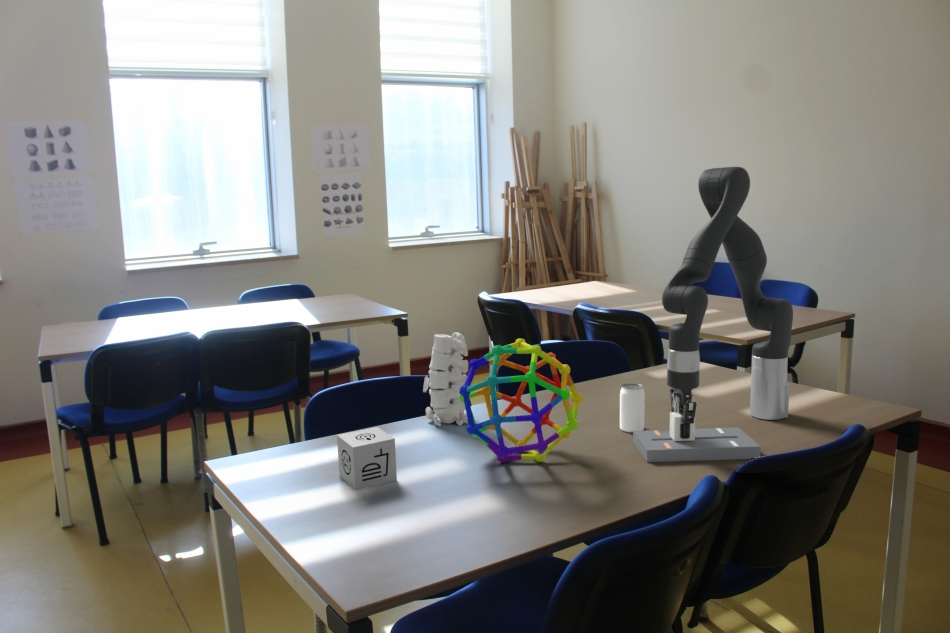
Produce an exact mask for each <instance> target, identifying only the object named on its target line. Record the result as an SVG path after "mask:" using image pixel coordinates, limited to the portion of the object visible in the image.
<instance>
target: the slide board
mask: <svg viewBox="0 0 950 633" xmlns="http://www.w3.org/2000/svg"><path fill="white" fill-rule="evenodd" d="M632 443H633V444H634V445H635V447H636V448H637V450H638V451H639V454H641V456H642V458H643V459H644V460H645V462H646V463H660V462H661V463H663V462H664V463H665V462H666V463H667V462H693V461H695V462H697V461H698V462H699V461H700V462H701V461H720V460H721V461H722V460H723V461H726V460H728V461H729V460H731V461H732V460H752V459H751V458H754V457H758V456H760V457H761V453H762V452H761V450H762V449H761V447H762V446H761V445H760V444H758V443H757V442H756V441H755V440H754V439H753V438H751V437H750V436H749V435H748V434H747V433H746V432H744V430H742V429H741V428H740V427H713V428H695V440H693V441H674V440H673V439H672V438H671V437H670V429H651V430H649V429H648V430H647V429H646V430H645V429H644V430H643V431H633V433H632Z"/></svg>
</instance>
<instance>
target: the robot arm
mask: <svg viewBox="0 0 950 633" xmlns="http://www.w3.org/2000/svg"><path fill="white" fill-rule="evenodd" d="M697 184H698V186H697V187H698V192H699V195H700V198H701V201H702V203H703V205H704V207H705V209H706V211H707V213H708V216H709V218H710V219H709V220H708V221H707V222H706V224H704V225H703V227H701V229H700V230H698V232H696V234H695V235H694V236H693V238H692V239H691V241H690V242H689V244H688V247H687V249H686V252H685V254H684V256H683V259H682V263H681V265H680V266H679V268H678V269H677V271H676V272H675V273H674V275H673V276H672V278H671V279H670V280H669V281H668V283H667V284H666V286H665V287H664V290H663V293H662V296H661V304H662V307H663V309H664V310H665V311H666V312H668V313H670V314H674V315H675V314H676V315H684V316H686V318H685V321H684V322H679V323H674V324H672V325H671V326H670V327H669V331H668V352H667V360H666V361H667V369H666V370H667V371H666V373H667V374H666V384H667V386H668V387H669V388H670V389H669V393H670V406H671V408H670V409H671V411H670V412H678V414H679V415H680V437H681V438H682V439H688V438H690V424H693V423H694V418H695V419H696V411H697V402H696V401H694V395H693V390H695V389H698V387H699V386H700V370H701V369H700V367H701V366H700V364H701V363H700V360H701V356H700V331H701V328H702V325H703V322H704V317H705V314H706V312H707V309H708V304H709V297H708V296H709V295H708V293H707V291H706V290H705V289H704V287H701V286H700V285H694V284H696V283H699V282H700V283H701V282H705V281H706V280H708V279H709V277H710V276H711V272H712V270H713V268H714V265H715V262H716V258H717V255H718V254H719V251H720V249H721V246H723V249H724V252H725V255H726V258H727V260H728V263H729V266H730V268H731V270H732V272H733V275H734V278H735V281H736V284H737V287H738V291H739V293H740V297H741V301H742V306H743V309H744V313H745V317H746V320H747V322H748V324H749V326H750V327H752V328H753V329H755V330H759V331H764V332H770V335H769V338H768V340H764V341H760V342H756V343H754V344H753V345H752V349H751V372H750V373H751V374H750V376H751V377H750V397H749V398H750V400H749V414H750V416H752V417H754V418H757V419H762V420H770V421H775V420H782V419H784V418H785V419H786V418H787V419H788V418H789V406H790V387H791V386H790V384H789V382H788V363H789V362H788V359H789V349H790V347H791V343H792V342H791V341H792V330H793V322H794V320H793V319H794V309H793V305H792V303H791V302H790V300H788V299H784V298H776V297H766V296H765V295H764V294H763V292H762V290H761V285H760V282H761V279H762V277H763V274H764V272H765V271H766V267H767V263H768V256H767V254H766V251H765V247H764V245H763V242H762V239H761V237H760V235H759V234H758V233H757V232H756V231H755V230H754V229H753V228H752V227H751V226H750V225H749V224H748V223H746V222H745V221H744V220H743V219H742V218H740V217H739V216H738V214H739V213H740V211H741V209H742V208H743V206H744V204H745V202H746V200H747V198H748V195H749V192H750V188H751V178H750V175H749V172H748V171H747V170H746V169H745V168H743V167H741V166H727V167H726V166H725V167H715V168H714V167H713V168H709V169H705V170H703V171H702V172H701V173H700V175H699V178H698V182H697ZM687 416H688V419H686V417H687Z"/></svg>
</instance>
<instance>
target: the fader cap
mask: <svg viewBox="0 0 950 633" xmlns="http://www.w3.org/2000/svg"><path fill="white" fill-rule="evenodd" d="M686 419H688V416H687V417H686ZM695 429H696V417H695V418H694V423H693V424H690V438H688V439H682V438H681V437H680V415H679V414H678V412H672V411H670V412H669V430H670V437H671V438H672V439H673V440H674V441H693V440H695Z"/></svg>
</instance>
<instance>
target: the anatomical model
mask: <svg viewBox="0 0 950 633" xmlns="http://www.w3.org/2000/svg"><path fill="white" fill-rule="evenodd" d="M431 349H432V351H431V358H430V364H429V366H428V368H429V370H428V374H429V375H425V376H424V378H423V379H424V382H423V386H422V387H423V388H422V392H423V393H427V391H428V393H429V396H430V406H427V407H426V408H425V415H426V418H427V419H428V420H430V421H432V422H433V423H434V426H438V427H441V426H442V424H452V423H454V422H456V424H457V425H458V426H462V425H463V424H468V420H467V414H466V413H465V411H466V409H465V405H464V402H461V401H460V399H459V395H460V393H459V391H460V387H462V386H463V385H464V384H465V381H466V379H467V376H468V375H466V373H467V372H469V360H467V359H464V357H469V351H468V350H469V349H468V344H467V343H466V337H464V334H463V333H462V334H461V332H457V331H455V332H453V333H452V334H451V335H449V334H442V333H438V334H436V333H435V334H434V335H433V346H432V348H431ZM463 356H464V357H463ZM463 359H464V360H463ZM428 376H429V377H428ZM438 418H439V419H438Z"/></svg>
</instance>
